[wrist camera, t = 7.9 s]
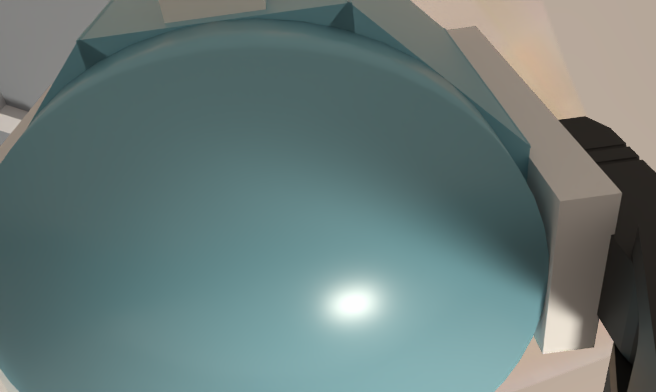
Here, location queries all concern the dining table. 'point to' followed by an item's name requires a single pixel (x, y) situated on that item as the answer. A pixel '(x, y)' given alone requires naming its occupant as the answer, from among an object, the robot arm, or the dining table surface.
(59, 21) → the stand
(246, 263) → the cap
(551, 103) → the dining table surface
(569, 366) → the dining table surface
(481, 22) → the dining table surface
